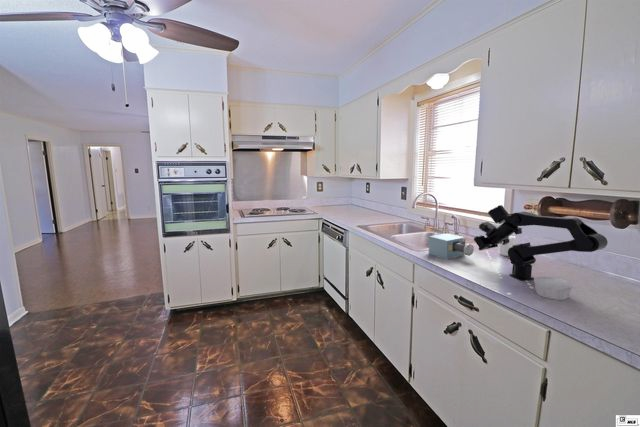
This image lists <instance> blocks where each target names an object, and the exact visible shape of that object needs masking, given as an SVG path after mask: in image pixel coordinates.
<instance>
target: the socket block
mask: <svg viewBox="0 0 640 427" xmlns="http://www.w3.org/2000/svg"><path fill="white" fill-rule="evenodd" d="M466 239H467V238H466V236H462V235H461V236H460V235H456V234H453V233H448V232H447V233H441V234H434V235H430V236H429V237H428V254H429V255H431V256H435V257H439V258H440V259H444V260H450V259H454V258H458V257H462V256H463V257H464V256H466V255H465V254H464V252H460V251H457V250H453V242H456V243H460V244H464V245H466Z"/></svg>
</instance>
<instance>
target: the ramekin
mask: <svg viewBox="0 0 640 427" xmlns="http://www.w3.org/2000/svg"><path fill="white" fill-rule="evenodd" d="M533 278H534V279H533V281H534V290H535V292H536V293H537V294H538V296H541V297H543V298H546V299H550V300H556V301H564V300H567V299H568V298H569V297H570V293H571V290H572V289H573V284H572V283H571V282H569V281H567V280H565V279H564V280H563V279H561V278H556V277H550V276H536V277H533Z"/></svg>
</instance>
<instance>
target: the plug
mask: <svg viewBox="0 0 640 427" xmlns="http://www.w3.org/2000/svg"><path fill="white" fill-rule="evenodd" d="M474 249H475V248H474V245H473V244H472V243H467V244H466V243H465V245H464V244H460V243H456V242H453V250H457V251H460V252H464V254H465V255H464V256H467V257H470V256H471V255H473V253H474V251H475V250H474Z"/></svg>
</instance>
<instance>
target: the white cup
mask: <svg viewBox="0 0 640 427" xmlns="http://www.w3.org/2000/svg"><path fill="white" fill-rule="evenodd" d="M508 239H509V243H508V244H506V245H502V243H504V242H503V241H502V243H501V244H497V245H498V247H497V248H498V255H501V256H503V257H505V256H506V257H509V256H508V250H509V248H511V247H512V245H516V239H517V237H516V236H514V235H512V234H511V235H510V236H509V238H508Z"/></svg>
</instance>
